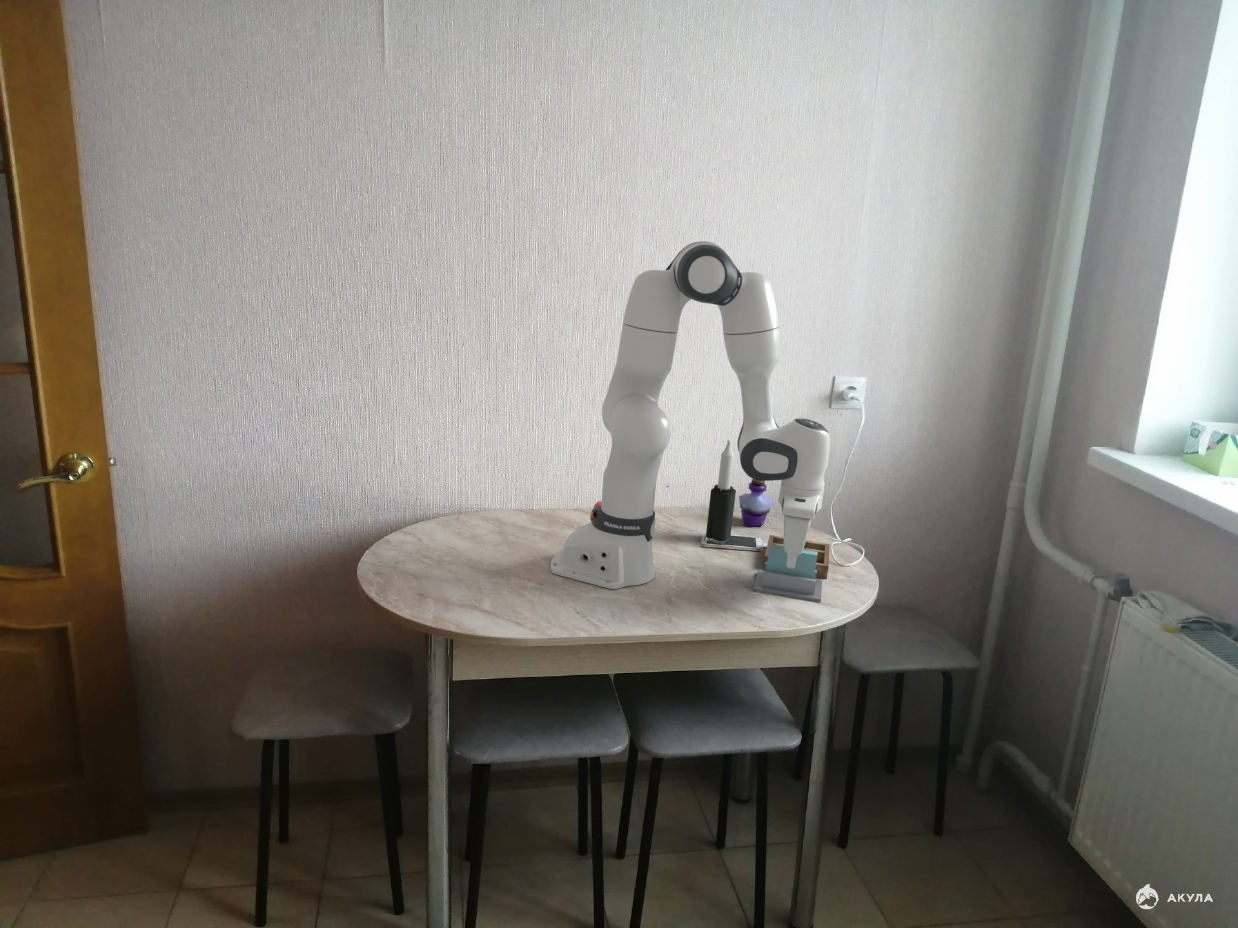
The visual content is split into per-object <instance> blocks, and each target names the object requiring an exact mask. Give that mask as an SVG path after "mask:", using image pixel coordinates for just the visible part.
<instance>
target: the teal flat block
mask: <svg viewBox="0 0 1238 928" xmlns="http://www.w3.org/2000/svg"><path fill="white" fill-rule="evenodd" d="M817 553H818V552H815V551H808V550H803V552H802V554H801V555H798V556H797V560H796V565H795V568H788V567H787V566H786V565H787V553H786V552H784V547H783V546H777V545H770V547H769V554H768V561H767V569H766V571H767V572H773V573H779V574H786V575H792V576H798V577H804V578H810V579H814V574H815V568H816V561H817Z"/></svg>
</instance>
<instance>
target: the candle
mask: <svg viewBox="0 0 1238 928" xmlns="http://www.w3.org/2000/svg"><path fill="white" fill-rule="evenodd" d="M731 443H732V440H730V439H728V440H727V444H726V446H725V448H724V450H723V451H722V452H721V454H720V462H719V472H718V481H717V484H715V485H714V486H713V488H711V489H710V496H709V505H708V506H709V507H708V514H707V520H706V521H707V522H706V531H705V538H706V537H708V538H713V539H715V540H718V541H726V540H727V539H728V538H729V537H730V538H731V536H732V535H731V534H732V527H733V518H734V509H735V502H736V495H737V494H736V492H737V490H736V489H735V488H734V487H733V486H731V485H732V484H731V483H732V474H733V468H734V467H733V466H734V457H735V454H734V452H733V449H732V445H731Z"/></svg>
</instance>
